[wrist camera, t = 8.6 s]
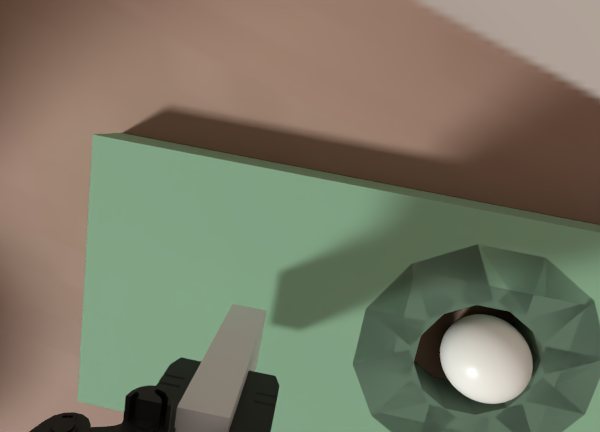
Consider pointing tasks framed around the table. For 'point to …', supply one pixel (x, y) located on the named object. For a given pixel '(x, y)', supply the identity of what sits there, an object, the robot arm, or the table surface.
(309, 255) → the mat
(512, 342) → the ball
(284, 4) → the table surface
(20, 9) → the table surface
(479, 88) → the table surface
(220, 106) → the table surface
